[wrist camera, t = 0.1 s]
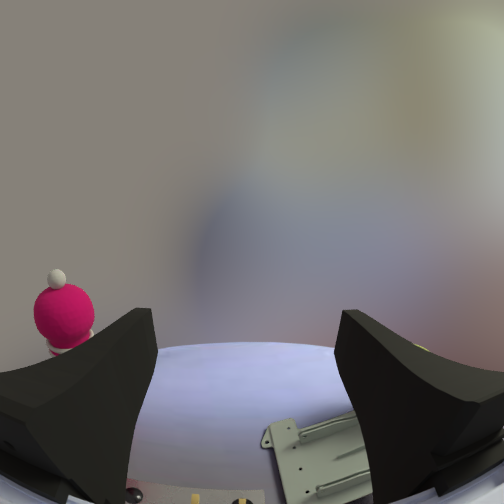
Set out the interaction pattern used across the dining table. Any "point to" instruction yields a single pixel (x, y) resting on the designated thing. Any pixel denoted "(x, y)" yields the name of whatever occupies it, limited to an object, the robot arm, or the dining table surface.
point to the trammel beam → (242, 501)
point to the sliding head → (195, 499)
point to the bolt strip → (186, 494)
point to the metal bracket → (321, 460)
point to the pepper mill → (63, 314)
